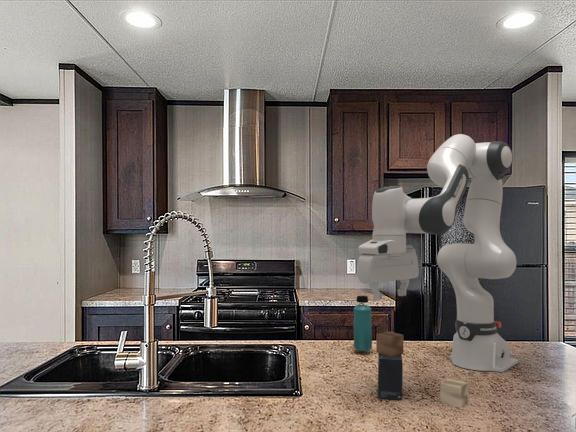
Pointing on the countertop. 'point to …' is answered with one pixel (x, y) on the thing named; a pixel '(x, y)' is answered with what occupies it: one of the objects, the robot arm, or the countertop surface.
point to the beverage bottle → (362, 325)
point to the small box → (390, 377)
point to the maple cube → (453, 393)
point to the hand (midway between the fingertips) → (390, 297)
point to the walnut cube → (389, 343)
